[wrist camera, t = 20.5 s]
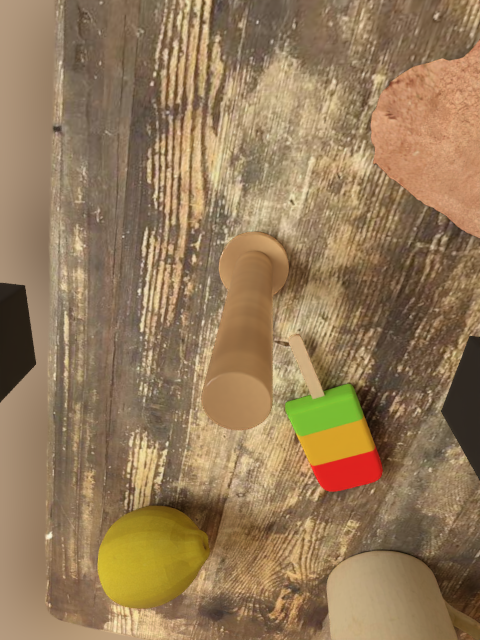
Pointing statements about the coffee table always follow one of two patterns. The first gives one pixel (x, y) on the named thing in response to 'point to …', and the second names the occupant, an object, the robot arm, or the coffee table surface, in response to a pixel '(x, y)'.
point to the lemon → (151, 556)
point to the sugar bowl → (391, 601)
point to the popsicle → (332, 430)
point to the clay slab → (434, 136)
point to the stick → (245, 333)
